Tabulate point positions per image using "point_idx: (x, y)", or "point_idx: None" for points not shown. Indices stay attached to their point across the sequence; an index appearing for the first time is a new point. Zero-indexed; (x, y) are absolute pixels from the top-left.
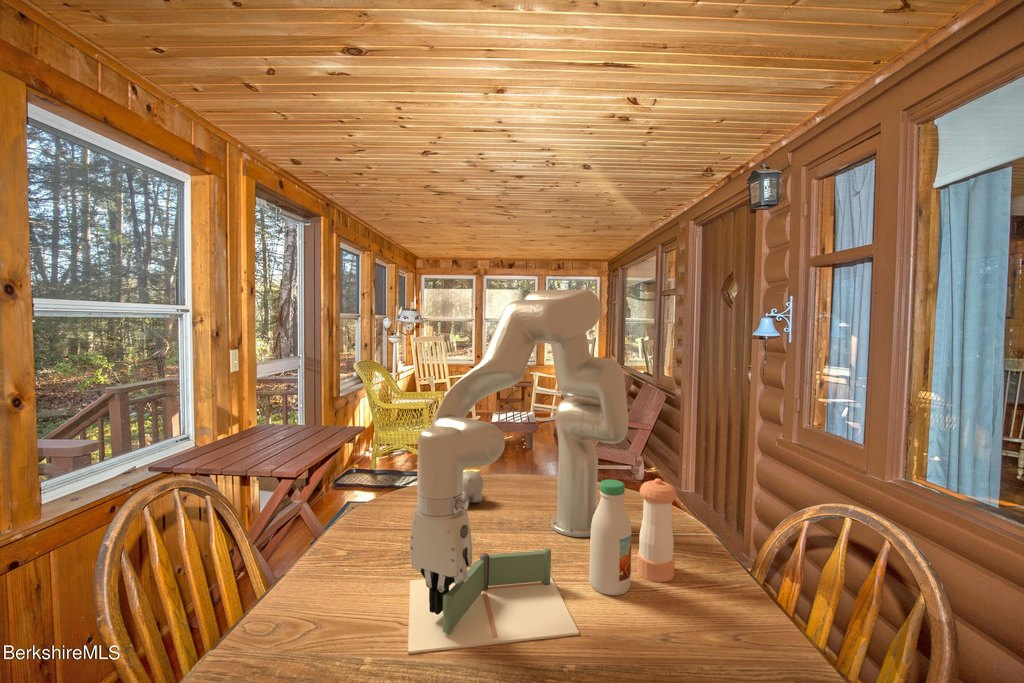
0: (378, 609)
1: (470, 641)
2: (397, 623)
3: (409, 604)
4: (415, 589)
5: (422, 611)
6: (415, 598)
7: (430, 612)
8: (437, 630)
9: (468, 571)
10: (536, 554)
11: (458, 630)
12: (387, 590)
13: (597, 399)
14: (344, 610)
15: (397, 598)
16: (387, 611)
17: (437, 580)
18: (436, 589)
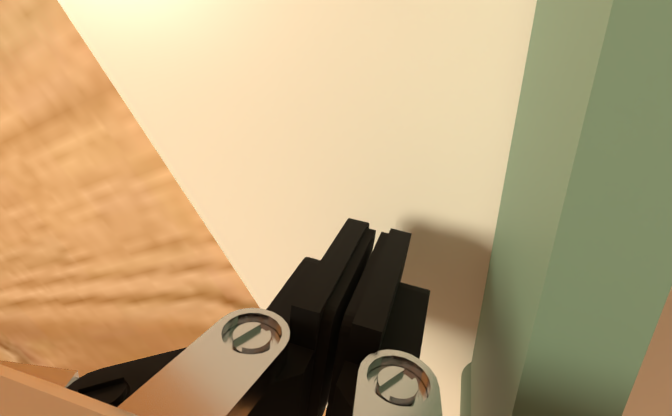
0: (94, 236)
1: (644, 404)
2: (221, 306)
3: (181, 187)
4: (115, 39)
5: (274, 228)
6: (173, 127)
7: (317, 224)
8: (423, 348)
9: (598, 153)
10: None
11: None
12: (12, 84)
13: None
14: (8, 270)
15: (96, 134)
16: (132, 241)
17: (282, 404)
18: (320, 401)
